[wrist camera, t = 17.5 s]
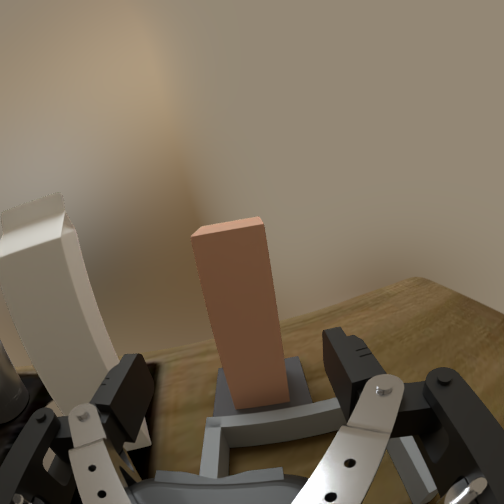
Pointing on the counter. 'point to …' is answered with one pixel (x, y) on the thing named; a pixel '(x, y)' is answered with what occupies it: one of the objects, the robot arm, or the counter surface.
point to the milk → (55, 304)
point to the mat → (297, 398)
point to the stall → (301, 426)
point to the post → (242, 310)
